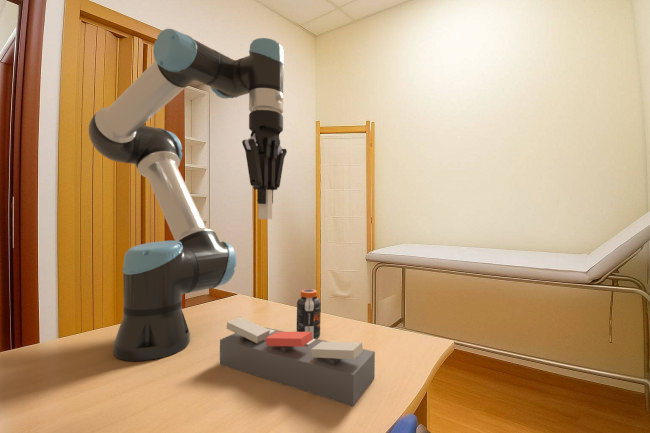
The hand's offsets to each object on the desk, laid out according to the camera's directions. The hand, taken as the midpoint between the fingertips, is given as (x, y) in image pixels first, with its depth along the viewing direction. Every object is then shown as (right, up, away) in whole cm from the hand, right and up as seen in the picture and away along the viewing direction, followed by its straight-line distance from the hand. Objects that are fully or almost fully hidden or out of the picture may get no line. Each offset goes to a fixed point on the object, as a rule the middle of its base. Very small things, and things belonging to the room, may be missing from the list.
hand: (265, 218), depth 73 cm
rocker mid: (+7, -22, -12) cm, 26 cm away
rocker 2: (+16, -23, -17) cm, 32 cm away
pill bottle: (+9, -29, +8) cm, 32 cm away
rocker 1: (-2, -22, -7) cm, 24 cm away
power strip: (+7, -29, -10) cm, 32 cm away
